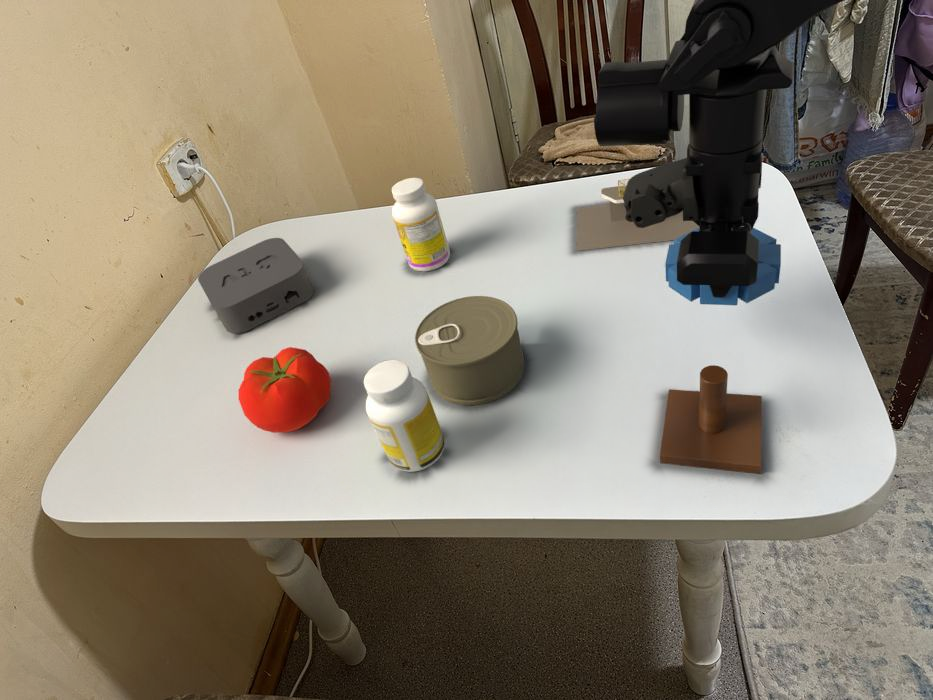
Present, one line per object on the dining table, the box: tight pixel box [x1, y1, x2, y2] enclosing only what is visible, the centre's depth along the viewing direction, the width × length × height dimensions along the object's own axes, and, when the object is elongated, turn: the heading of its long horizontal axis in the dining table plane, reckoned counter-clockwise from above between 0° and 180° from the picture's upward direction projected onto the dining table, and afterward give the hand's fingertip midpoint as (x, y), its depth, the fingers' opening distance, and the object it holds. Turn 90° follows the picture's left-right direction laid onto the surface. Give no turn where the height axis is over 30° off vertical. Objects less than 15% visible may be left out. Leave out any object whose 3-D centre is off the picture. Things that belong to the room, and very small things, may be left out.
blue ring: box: [664, 227, 782, 306], centre depth 68 cm, size 11×11×2 cm
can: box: [414, 295, 526, 406], centre depth 78 cm, size 12×12×7 cm
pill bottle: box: [363, 359, 446, 473], centre depth 69 cm, size 6×6×12 cm
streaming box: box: [197, 237, 315, 334], centre depth 102 cm, size 14×14×5 cm
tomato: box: [238, 346, 332, 434], centre depth 79 cm, size 11×11×8 cm
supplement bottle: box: [391, 177, 451, 272], centre depth 97 cm, size 7×7×13 cm
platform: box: [576, 178, 700, 252], centre depth 95 cm, size 12×18×7 cm, turn 83°
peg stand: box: [659, 364, 763, 475], centre depth 63 cm, size 9×9×8 cm
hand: (719, 287), depth 65 cm, fingers closed on blue ring, 2 cm apart
